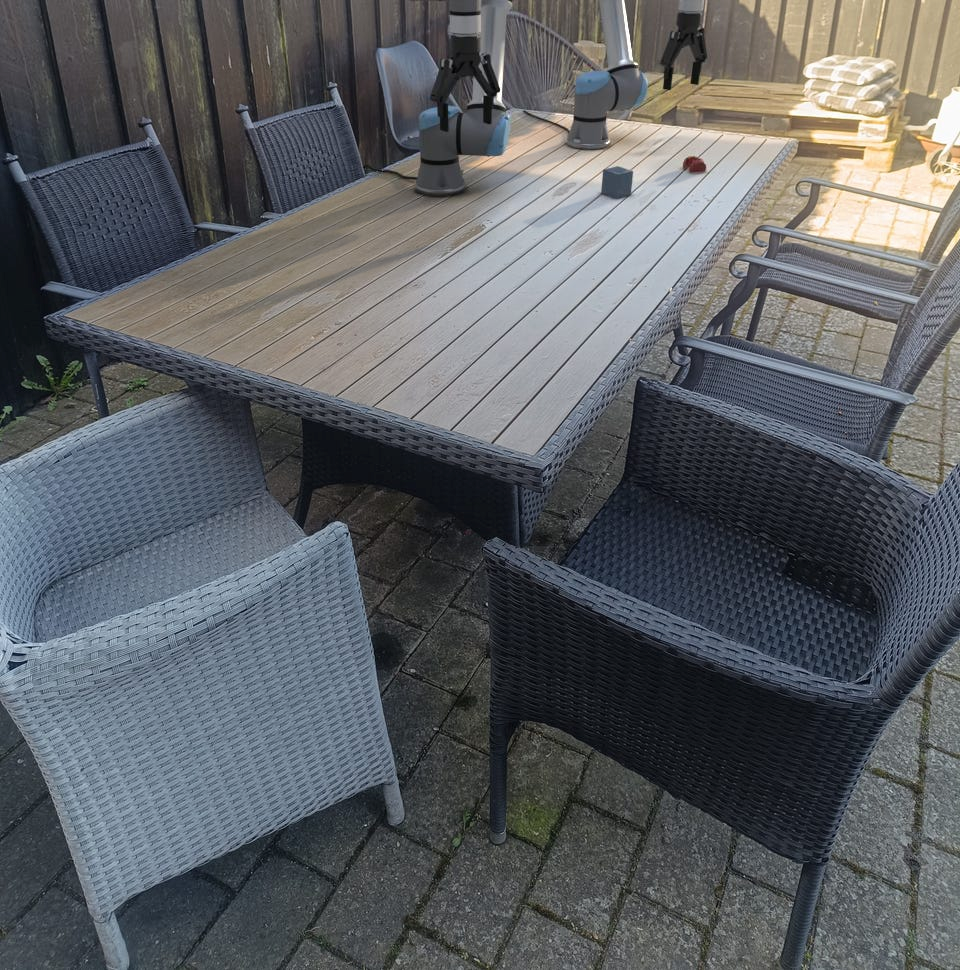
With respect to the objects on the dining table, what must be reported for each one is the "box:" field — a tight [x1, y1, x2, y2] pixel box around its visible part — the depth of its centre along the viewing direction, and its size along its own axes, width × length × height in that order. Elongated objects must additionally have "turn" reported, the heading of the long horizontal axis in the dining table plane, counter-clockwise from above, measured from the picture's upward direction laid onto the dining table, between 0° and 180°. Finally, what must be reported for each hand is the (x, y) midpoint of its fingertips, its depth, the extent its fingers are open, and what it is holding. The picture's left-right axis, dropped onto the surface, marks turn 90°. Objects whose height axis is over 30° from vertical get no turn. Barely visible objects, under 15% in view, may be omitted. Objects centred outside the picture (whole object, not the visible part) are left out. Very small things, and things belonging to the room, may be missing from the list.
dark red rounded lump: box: [682, 155, 707, 173], centre depth 275 cm, size 6×4×8 cm
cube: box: [600, 165, 634, 199], centre depth 253 cm, size 7×6×7 cm
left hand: (466, 127), depth 217 cm, fingers open, 13 cm apart
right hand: (680, 86), depth 272 cm, fingers open, 13 cm apart
